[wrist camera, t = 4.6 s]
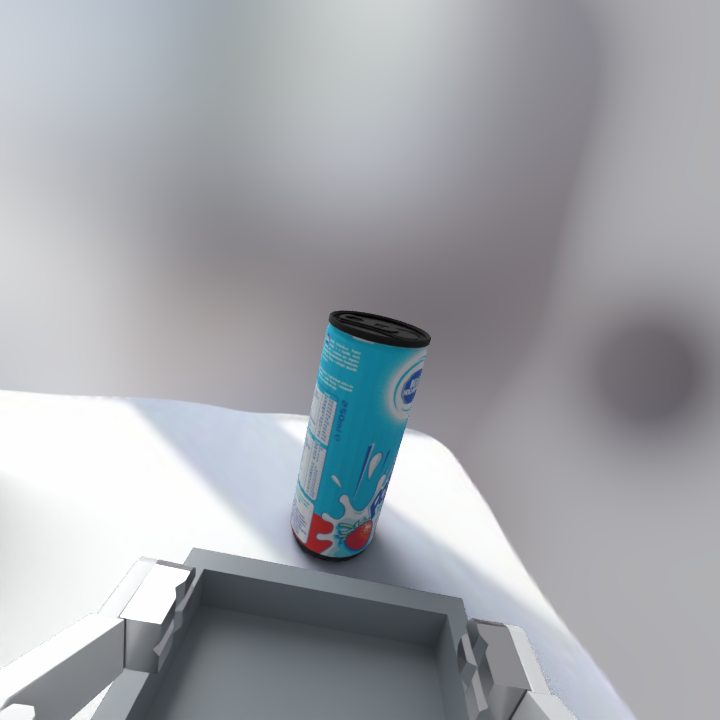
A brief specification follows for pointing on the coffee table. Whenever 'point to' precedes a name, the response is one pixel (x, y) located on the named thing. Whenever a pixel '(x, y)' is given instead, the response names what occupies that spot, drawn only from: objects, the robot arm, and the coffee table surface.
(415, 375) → the beverage can
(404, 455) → the coffee table surface
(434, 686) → the box
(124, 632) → the robot arm
